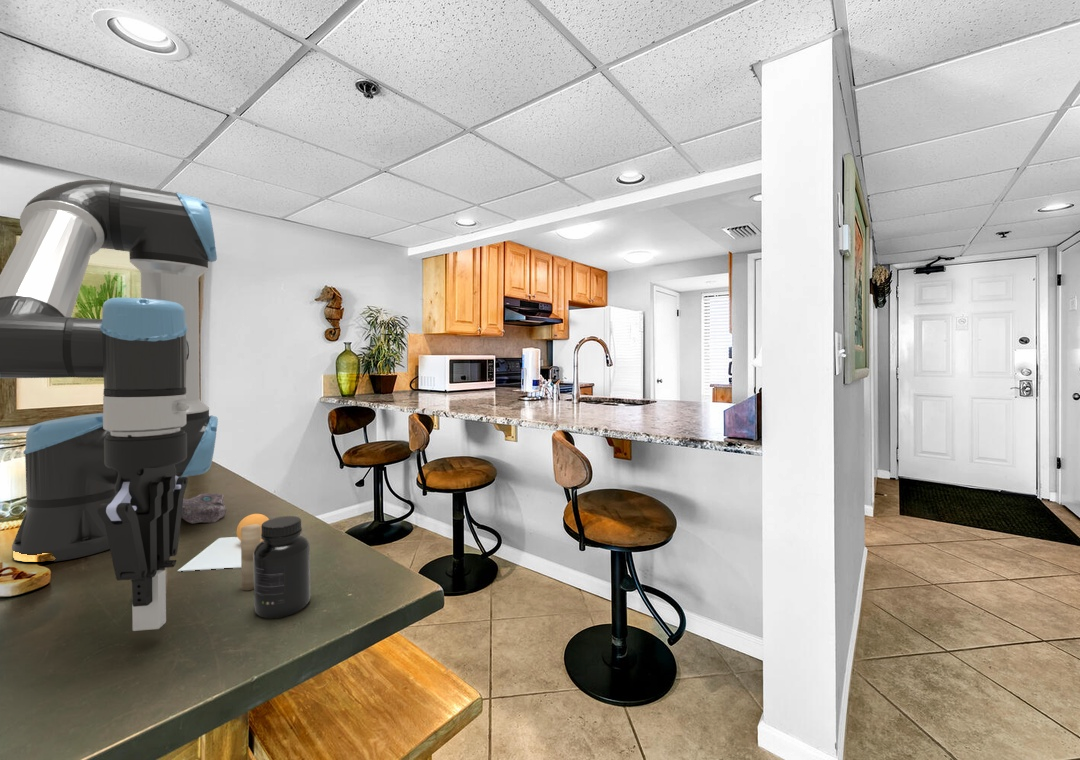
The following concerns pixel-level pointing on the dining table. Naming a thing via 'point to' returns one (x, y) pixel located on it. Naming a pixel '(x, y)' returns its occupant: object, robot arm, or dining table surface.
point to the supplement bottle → (281, 568)
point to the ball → (251, 522)
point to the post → (248, 554)
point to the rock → (203, 508)
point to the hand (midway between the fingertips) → (149, 626)
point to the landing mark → (217, 556)
